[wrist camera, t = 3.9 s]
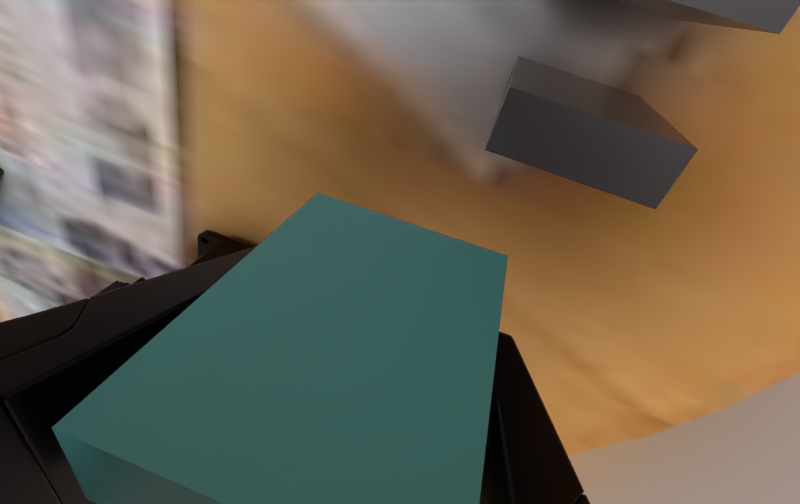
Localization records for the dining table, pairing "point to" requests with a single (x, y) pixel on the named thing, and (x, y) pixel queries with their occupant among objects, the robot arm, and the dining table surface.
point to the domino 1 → (308, 376)
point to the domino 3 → (726, 12)
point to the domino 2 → (588, 134)
